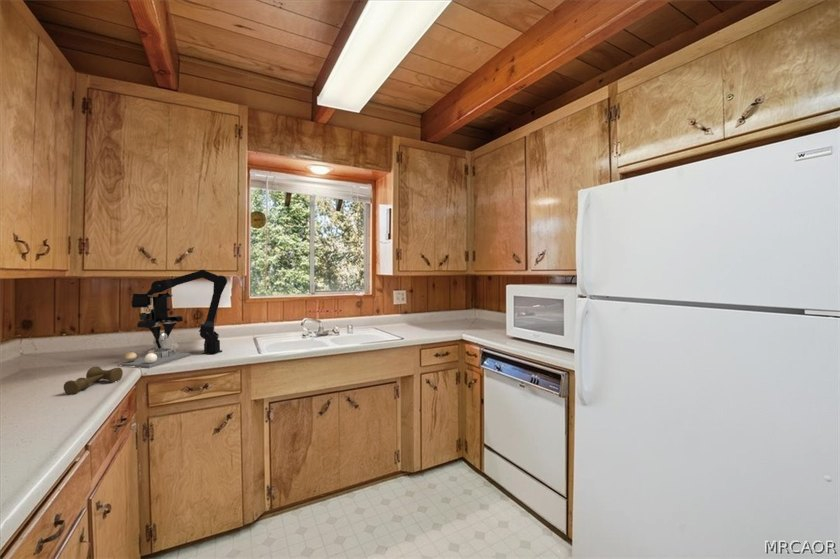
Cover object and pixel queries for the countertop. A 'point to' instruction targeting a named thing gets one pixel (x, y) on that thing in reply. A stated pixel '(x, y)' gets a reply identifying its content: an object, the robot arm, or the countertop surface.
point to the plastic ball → (150, 358)
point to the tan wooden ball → (130, 357)
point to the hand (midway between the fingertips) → (161, 339)
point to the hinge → (165, 343)
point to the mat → (141, 361)
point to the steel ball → (162, 336)
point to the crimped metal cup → (163, 352)
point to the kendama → (92, 379)
